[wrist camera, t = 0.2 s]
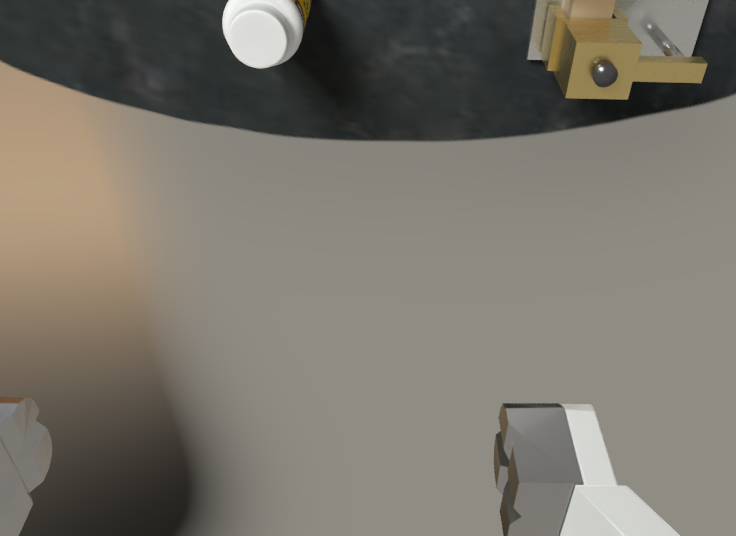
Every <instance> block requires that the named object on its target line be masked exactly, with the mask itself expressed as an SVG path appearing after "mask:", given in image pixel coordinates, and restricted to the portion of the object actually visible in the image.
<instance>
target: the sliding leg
mask: <svg viewBox="0 0 736 536" xmlns="http://www.w3.org/2000/svg"><path fill="white" fill-rule="evenodd" d="M627 23H628V18H627V17H626V16H625V14H624V13H623V12H622V11H621V9H620V8H619V7H618V6H614V10H613V15H612V18H568V17H567V16H566V14H565V13H564V11H563V9H562V8H561V6H560V5H549V8H548V14H547V20H546V26H545V31H544V37H543V43H542V49H541V55H540V56H541V58H542V61H543V63H544V65H545V67H546V69H547V71H553V73H554V75H555V77H556V79H557V82H558V84H559V86H560V88H561V90H562V92H563V94H564V96H565V98H581V99H623V100H628V97H629V93H630V89H631V86H632V82H675V83H701V82H702V79H703V76H704V73H705V70H706V67H707V62H706V61H705V60H704V59H703V58H702V57H685V56H684V55H683V54H682V53H681V51H680V50H679V49H678V48H677V47H676V46H675V45H674V44H673V42H672V41H671V40H670V39H669V38H668V37H667V36H666V35H665V34H664V32H663V31H662V30H661V29H660V28H658V27H656V28H653V29H652V30H651V31H650V34H649V35H650V38H651V39H652V40H653V41H654V42H655V43H656V45H657V46H658V47H659V48H660V49H661V51H662V52H663V53H664V54H665V55H666V56H639V55H640V51H641V48H642V43H641V41H640V40H639V39H638V37H637V36H636V35H635V34H634V32H633V31H632V30H631V29H630V27H629V26H628V25H627Z"/></svg>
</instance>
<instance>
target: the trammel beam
mask: <svg viewBox="0 0 736 536" xmlns="http://www.w3.org/2000/svg"><path fill="white" fill-rule="evenodd" d="M615 2H616V0H563V4H562V9H563V11H564V13H565V14H566V16H567V17H568V18H612V15H613V10H614V6H615Z"/></svg>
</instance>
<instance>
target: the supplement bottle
mask: <svg viewBox="0 0 736 536" xmlns="http://www.w3.org/2000/svg"><path fill="white" fill-rule="evenodd" d="M310 8H311V0H229V1H228V3H227V5H226V7H225V10H224V13H223V19H222V24H223V32H224V35H225V38H226V41H227V43H228V44H229V46H230V48H231V50H232V52H233V53H234V55H235V56H236V57H237V58H238V59H239V60H240V61H241V62H242V63H244V64H246V65H248V66H250V67H254V68H268V67H271V66H275V65H279V64H281V63H283V62H285V61H287V60H288V59H289V58H291V57H292V56H293V55H294V53H295V52H296V51H297V49H298V47H299V45H300V43H301V40H302V37H303V33H304V29H305V26H306V22H307V18H308V15H309V11H310Z"/></svg>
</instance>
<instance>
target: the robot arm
mask: <svg viewBox="0 0 736 536" xmlns="http://www.w3.org/2000/svg"><path fill="white" fill-rule="evenodd" d="M38 413H39V410H38V408H37V406H36V404H35V402H34V400H33V399H29V398H9V397H0V536H18V535H19V533H20V531H21V529H22V527H23V525H24V522H25V520H26V518H27V516H28V514H29V511H30V509H31V507H32V505H33V502H32V499H31V496H30V493H29V492H30V491H31V490H33V489H34V488H35V487H36V486H38V485H39V484H40V483H42V482H43V481H44V478H45V476H46V473H47V471H48V469H49V467H50V461H51V455H52V444H51V438H50V435H49V433H48V430H47V428H46V427H44V426H43V425H41V424H40V423H38V422H37V421H36V420H35V419H36V417H37V415H38ZM499 423H500V429H501V431H500V432H499V433H497V434H496V438H495V445H494V473H495V481H496V488H497V489H498V490H499V491H500V493H502V495H503V497H502V502H501V507H500V516H501V522H502V529H503V535H504V536H680V535H679V534H678V533H677V532H676V531H675V530H674V529H673V528H671V527H670V526H669V525H668V524H667V523H666V522H665V521H664V520H663V519H662V518H661V517H660V516H659V515H658V514H657V513H655V511H653V510H652V509H651V508H650V507H649V506H648V505H647V504H646V503H645V502H644V501H643V500H642V499H641V498H639V496H637V495H636V494H635V493H634V492H633V491H632V490H631V489H630V488H629V487H628V486H621V485H618V483H617V479H616V476H615V473H614V470H613V467H612V463H611V460H610V457H609V454H608V451H607V448H606V444H605V441H604V438H603V435H602V431H601V428H600V425H599V422H598V419H597V415H596V412H595V409H594V408H593V407H592V406H591V405H590V404H557V403H556V404H554V403H552V404H550V403H548V404H545V403H543V404H542V403H541V404H539V403H538V404H536V403H532V404H531V403H529V404H527V403H526V404H525V403H524V404H523V403H522V404H520V403H519V404H517V403H515V404H513V403H512V404H511V403H503V404H502V406H501V409H500V414H499Z"/></svg>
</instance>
